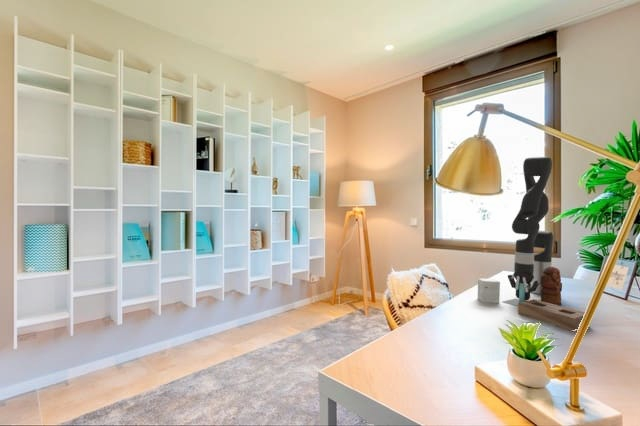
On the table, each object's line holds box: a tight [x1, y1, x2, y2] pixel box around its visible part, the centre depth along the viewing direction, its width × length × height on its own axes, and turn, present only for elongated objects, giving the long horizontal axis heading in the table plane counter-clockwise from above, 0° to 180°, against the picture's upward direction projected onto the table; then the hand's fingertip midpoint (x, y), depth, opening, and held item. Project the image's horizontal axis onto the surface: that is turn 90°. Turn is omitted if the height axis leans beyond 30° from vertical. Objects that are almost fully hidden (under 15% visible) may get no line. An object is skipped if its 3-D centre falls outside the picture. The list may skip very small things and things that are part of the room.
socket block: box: [517, 298, 585, 332], centre depth 127 cm, size 12×20×5 cm, turn 30°
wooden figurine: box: [540, 266, 563, 306], centre depth 146 cm, size 12×6×18 cm, turn 125°
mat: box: [502, 297, 519, 308], centre depth 147 cm, size 12×12×1 cm
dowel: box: [518, 283, 527, 303], centre depth 145 cm, size 3×3×10 cm
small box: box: [477, 278, 501, 304], centre depth 150 cm, size 8×6×10 cm
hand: (522, 298), depth 145 cm, fingers closed on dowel, 3 cm apart
